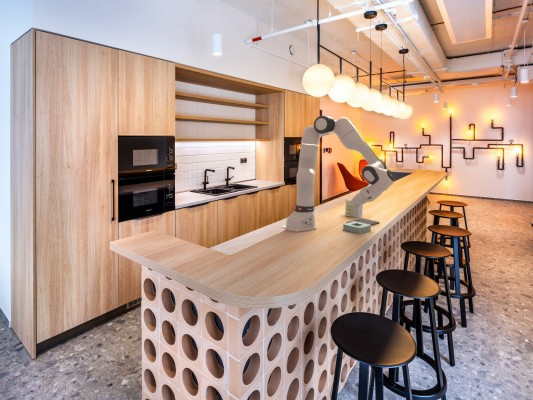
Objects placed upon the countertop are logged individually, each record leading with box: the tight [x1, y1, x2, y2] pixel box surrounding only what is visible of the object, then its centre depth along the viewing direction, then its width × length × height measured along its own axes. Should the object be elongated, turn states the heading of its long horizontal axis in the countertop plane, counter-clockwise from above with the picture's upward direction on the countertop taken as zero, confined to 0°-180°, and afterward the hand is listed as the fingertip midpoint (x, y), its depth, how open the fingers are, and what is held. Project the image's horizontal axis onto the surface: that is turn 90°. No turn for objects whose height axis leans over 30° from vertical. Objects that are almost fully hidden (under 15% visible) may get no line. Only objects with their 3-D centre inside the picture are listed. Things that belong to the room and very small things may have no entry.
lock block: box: [342, 221, 372, 235], centre depth 206 cm, size 12×12×4 cm
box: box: [344, 198, 354, 217], centre depth 244 cm, size 10×6×12 cm, turn 84°
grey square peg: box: [352, 203, 364, 219], centre depth 204 cm, size 4×4×12 cm
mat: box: [345, 217, 380, 227], centre depth 223 cm, size 18×14×1 cm
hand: (357, 205), depth 204 cm, fingers closed on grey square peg, 4 cm apart
